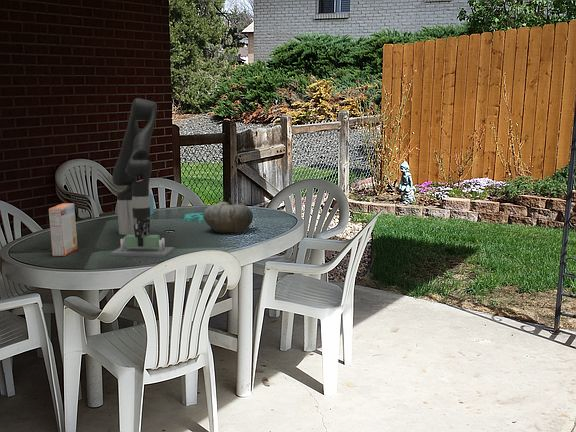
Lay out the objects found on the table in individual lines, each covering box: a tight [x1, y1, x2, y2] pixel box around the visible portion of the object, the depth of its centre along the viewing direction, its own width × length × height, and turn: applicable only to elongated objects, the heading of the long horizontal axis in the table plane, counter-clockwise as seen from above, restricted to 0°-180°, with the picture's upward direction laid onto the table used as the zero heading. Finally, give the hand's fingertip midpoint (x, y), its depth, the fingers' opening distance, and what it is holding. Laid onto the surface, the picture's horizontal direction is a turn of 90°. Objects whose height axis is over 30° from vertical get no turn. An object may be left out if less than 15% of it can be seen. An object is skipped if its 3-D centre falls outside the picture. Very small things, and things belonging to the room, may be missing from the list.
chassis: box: [109, 237, 175, 258], centre depth 295 cm, size 14×24×6 cm, turn 82°
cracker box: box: [48, 202, 78, 257], centre depth 295 cm, size 14×6×21 cm, turn 174°
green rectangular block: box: [123, 234, 161, 248], centre depth 295 cm, size 5×14×4 cm, turn 82°
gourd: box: [202, 197, 254, 234], centre depth 342 cm, size 25×25×17 cm
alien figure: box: [183, 212, 205, 224], centre depth 378 cm, size 20×2×20 cm
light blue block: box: [149, 193, 155, 216], centre depth 387 cm, size 12×4×12 cm, turn 152°
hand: (142, 244), depth 295 cm, fingers closed on green rectangular block, 5 cm apart
